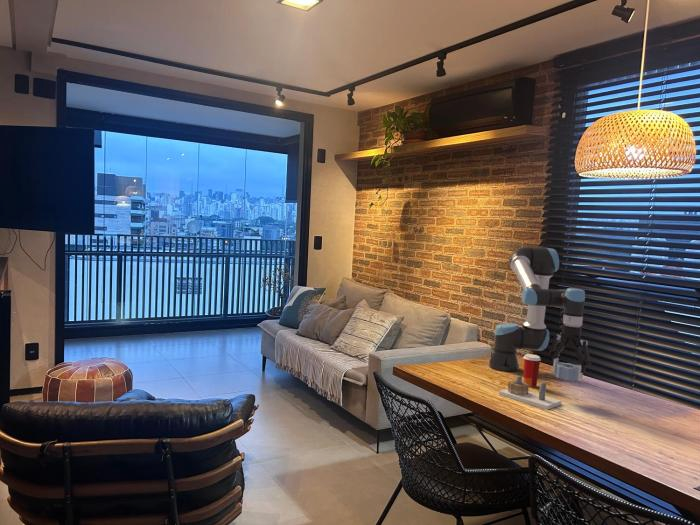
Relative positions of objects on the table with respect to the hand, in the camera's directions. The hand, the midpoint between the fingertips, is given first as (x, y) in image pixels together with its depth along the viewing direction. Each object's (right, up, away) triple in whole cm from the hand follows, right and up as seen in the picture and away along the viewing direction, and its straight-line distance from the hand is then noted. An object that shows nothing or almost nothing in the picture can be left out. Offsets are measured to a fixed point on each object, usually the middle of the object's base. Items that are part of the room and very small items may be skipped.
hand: (567, 376), depth 217 cm
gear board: (-16, -10, 0) cm, 19 cm away
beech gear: (-20, -8, +4) cm, 22 cm away
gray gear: (0, 0, 0) cm, 0 cm away
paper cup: (-9, -9, +21) cm, 25 cm away
